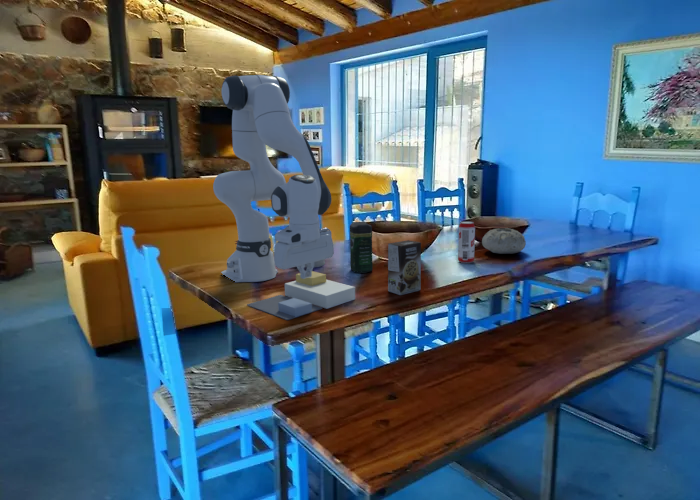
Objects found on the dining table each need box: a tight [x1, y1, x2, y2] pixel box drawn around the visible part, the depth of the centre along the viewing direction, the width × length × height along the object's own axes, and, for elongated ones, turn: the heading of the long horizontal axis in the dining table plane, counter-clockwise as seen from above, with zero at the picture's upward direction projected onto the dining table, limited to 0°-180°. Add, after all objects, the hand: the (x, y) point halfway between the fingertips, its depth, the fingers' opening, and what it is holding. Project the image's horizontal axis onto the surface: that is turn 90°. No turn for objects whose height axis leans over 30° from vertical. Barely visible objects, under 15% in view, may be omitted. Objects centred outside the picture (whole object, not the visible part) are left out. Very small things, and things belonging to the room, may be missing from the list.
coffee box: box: [387, 239, 422, 296], centre depth 166 cm, size 9×6×16 cm
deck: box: [284, 279, 356, 309], centre depth 162 cm, size 20×12×4 cm, turn 45°
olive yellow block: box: [295, 270, 327, 286], centre depth 166 cm, size 8×6×2 cm
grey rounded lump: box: [481, 227, 527, 255], centre depth 216 cm, size 18×18×10 cm
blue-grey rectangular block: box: [278, 298, 313, 318], centre depth 149 cm, size 8×6×2 cm
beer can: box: [457, 220, 476, 264], centre depth 201 cm, size 6×6×16 cm
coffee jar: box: [349, 221, 374, 274], centre depth 192 cm, size 10×8×19 cm
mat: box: [246, 294, 323, 321], centre depth 154 cm, size 20×13×1 cm, turn 45°
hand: (306, 277), depth 152 cm, fingers closed
